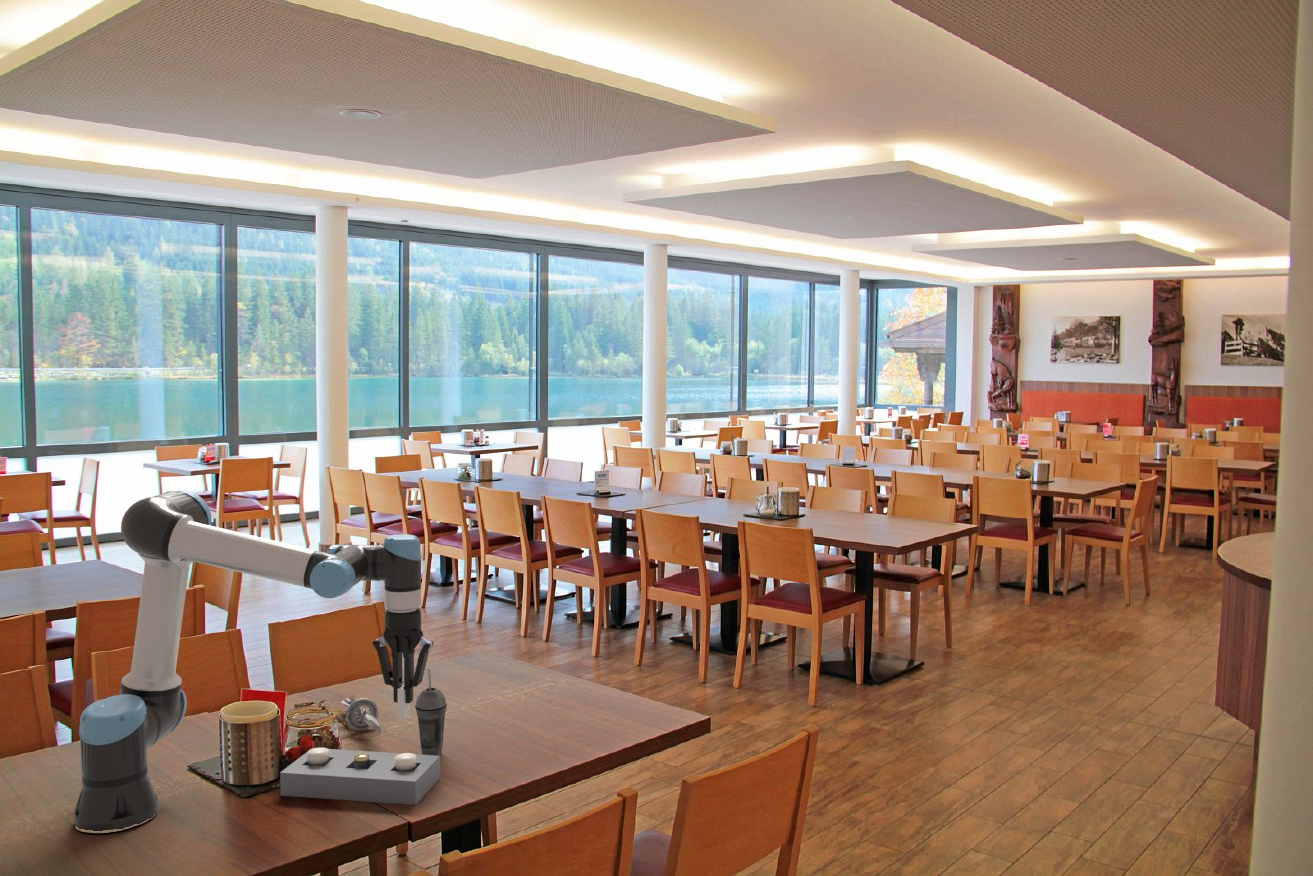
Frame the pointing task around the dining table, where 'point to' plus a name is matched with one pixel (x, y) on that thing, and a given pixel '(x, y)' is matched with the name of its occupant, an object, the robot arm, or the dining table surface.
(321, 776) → the console
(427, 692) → the beverage cup
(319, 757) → the left knob
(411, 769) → the right knob
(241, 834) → the dining table surface
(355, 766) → the pot knob
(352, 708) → the spaceship
